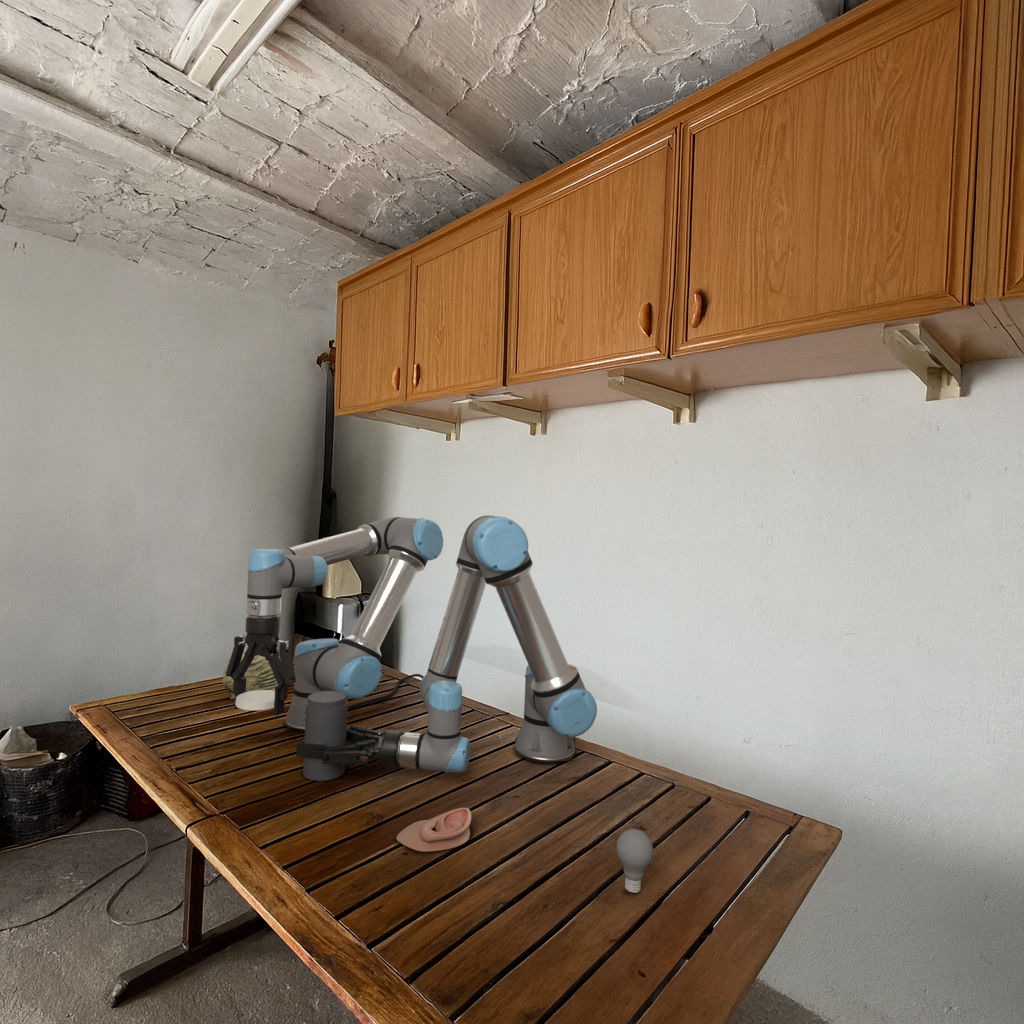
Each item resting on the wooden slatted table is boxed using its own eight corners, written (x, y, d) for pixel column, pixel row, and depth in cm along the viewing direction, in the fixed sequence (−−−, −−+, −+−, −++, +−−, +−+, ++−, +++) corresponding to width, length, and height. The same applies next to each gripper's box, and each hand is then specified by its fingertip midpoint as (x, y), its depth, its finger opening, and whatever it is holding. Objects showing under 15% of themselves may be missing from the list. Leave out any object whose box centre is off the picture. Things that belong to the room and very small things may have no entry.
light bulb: (610, 879, 108) (613, 822, 108) (644, 879, 109) (647, 822, 109) (619, 902, 102) (622, 840, 102) (655, 901, 103) (658, 840, 103)
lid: (274, 694, 155) (274, 687, 155) (288, 706, 147) (288, 699, 147) (230, 700, 149) (231, 693, 149) (242, 713, 141) (242, 705, 141)
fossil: (218, 695, 195) (220, 647, 195) (278, 685, 208) (279, 640, 207) (228, 703, 189) (230, 653, 188) (289, 692, 201) (290, 645, 201)
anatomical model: (390, 825, 115) (412, 796, 127) (389, 846, 116) (411, 816, 127) (460, 836, 113) (476, 806, 124) (459, 858, 113) (476, 826, 124)
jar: (329, 783, 140) (332, 705, 140) (294, 776, 143) (297, 699, 143) (353, 767, 149) (355, 693, 148) (319, 760, 152) (322, 688, 151)
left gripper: (211, 613, 147) (207, 708, 147) (295, 622, 141) (291, 722, 141) (234, 608, 154) (229, 699, 154) (315, 617, 148) (310, 712, 148)
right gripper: (385, 787, 133) (283, 777, 135) (413, 747, 155) (325, 739, 157) (386, 752, 133) (285, 742, 135) (415, 716, 154) (326, 709, 157)
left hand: (259, 710), depth 148 cm, fingers closed on lid, 10 cm apart
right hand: (306, 740), depth 146 cm, fingers closed on jar, 9 cm apart
